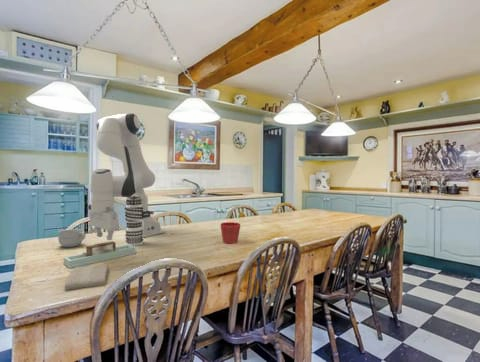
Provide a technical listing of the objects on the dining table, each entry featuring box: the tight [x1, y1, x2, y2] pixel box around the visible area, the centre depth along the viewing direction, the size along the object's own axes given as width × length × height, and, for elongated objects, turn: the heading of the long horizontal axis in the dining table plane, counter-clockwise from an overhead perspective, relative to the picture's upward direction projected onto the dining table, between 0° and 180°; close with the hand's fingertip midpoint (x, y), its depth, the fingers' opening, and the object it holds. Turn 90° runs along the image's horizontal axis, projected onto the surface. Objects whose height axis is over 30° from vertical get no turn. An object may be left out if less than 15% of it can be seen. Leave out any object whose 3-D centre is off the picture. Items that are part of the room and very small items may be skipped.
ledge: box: [63, 244, 137, 269], centre depth 119 cm, size 27×8×3 cm, turn 139°
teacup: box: [57, 228, 86, 248], centre depth 138 cm, size 14×11×8 cm
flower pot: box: [220, 221, 241, 244], centre depth 148 cm, size 11×11×10 cm
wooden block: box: [85, 240, 117, 257], centre depth 119 cm, size 11×3×5 cm, turn 139°
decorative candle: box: [124, 195, 144, 247], centre depth 143 cm, size 9×9×25 cm
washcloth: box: [64, 263, 109, 291], centre depth 96 cm, size 12×18×3 cm, turn 23°
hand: (104, 238), depth 120 cm, fingers open, 8 cm apart
